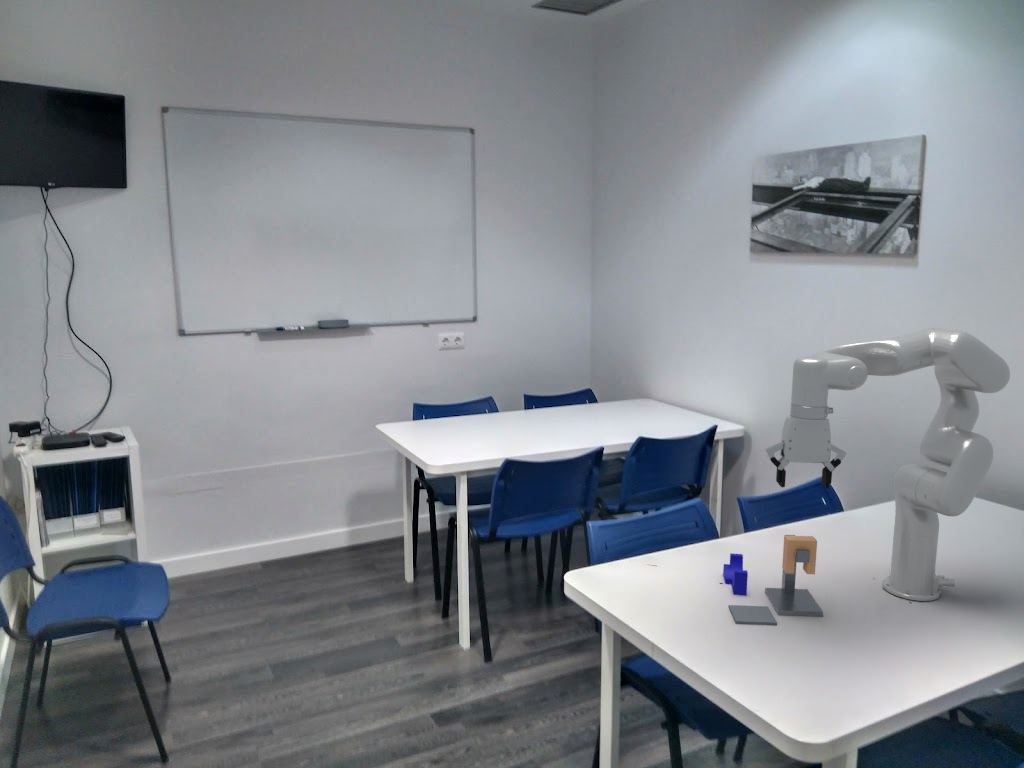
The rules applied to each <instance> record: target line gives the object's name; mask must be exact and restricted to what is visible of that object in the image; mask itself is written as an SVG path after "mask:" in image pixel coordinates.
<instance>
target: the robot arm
mask: <svg viewBox="0 0 1024 768" xmlns="http://www.w3.org/2000/svg"><path fill="white" fill-rule="evenodd" d="M932 366H933V367H934V368H933V369H934V375H935V379H936V381H937V383H938V387H939V392H940V401H939V405H938V408H937V410H936V412H935V414H934V416H933V418H932V420H931V422H930V423H929V425H928V428H927V429H926V431H925V432H924V434H923V437H922V439H921V441H920V443H919V453H920V455H921V456H922V458H923V459H925V460H926V461H928V462H930V463H933V464H935V465H938V466H942V467H945V468H947V469H948V471H947V472H945V471H943V470H940V469H937V468H934V467H931V466H928V465H924V464H921V463H920V464H919V463H908V464H904V465H902V466H901V467H900V468H898V470H897V471H896V473H895V474H894V478H893V484H892V485H893V495H894V503H895V505H894V506H895V509H894V510H895V512H894V513H895V514H894V515H895V516H894V526H893V527H894V528H893V536H892V537H893V538H892V551H891V562H890V573H889V574H890V576H887V577H885V578H883V580H882V584H881V585H882V588H883V589H884V590H885V591H886V592H888V593H890V594H891V595H894V596H897V597H899V598H902V599H907V600H910V601H911V600H912V601H919V602H929V601H935V600H937V599H939V598H940V596H941V589H940V588H943V587H948V588H949V587H950V588H951V587H952V588H954V587H956V580H955V579H954V578H945V576H944V575H942V574H941V575H939V574H938V575H936V574H935V573H936V567H937V566H936V565H937V555H938V554H937V553H938V543H939V534H940V533H939V532H940V519H939V514H940V515H943V516H946V517H958V516H960V515H962V514H964V513H965V512H966V510H967V509H968V508H969V507H970V506H971V504H972V502H973V500H974V499H975V497H976V495H977V493H978V491H979V489H980V487H981V486H982V484H983V482H984V480H985V478H986V476H987V475H988V472H989V471H990V468H991V466H992V463H993V460H994V447H993V445H992V442H991V441H990V439H988V438H987V437H985V436H984V435H982V434H979V433H976V432H973V429H974V428H975V425H976V423H977V420H978V418H979V416H980V404H979V401H978V397H977V395H976V393H975V392H978V393H984V394H994V393H998V392H1000V391H1002V390H1003V389H1005V388H1006V387H1007V385H1008V383H1009V381H1010V378H1011V370H1010V367H1009V365H1008V363H1007V361H1006V360H1005V359H1004V358H1003V357H1002V356H1001V355H999V354H998V353H997V352H995V351H994V350H993V349H992V348H990V347H989V346H988V345H986V344H985V343H984V342H982V341H981V340H980V339H978V338H977V337H976V336H974V335H973V334H971V333H969V332H967V331H966V332H965V331H963V330H954V329H945V328H944V329H943V328H934V327H933V328H925V329H922V330H918V331H913V332H910V333H906V334H902V335H899V336H895V337H891V338H887V339H882V340H873V341H872V340H871V341H867V342H859V343H852V344H851V343H850V344H844V345H839V346H838V345H837V346H835V347H831V348H827V349H823V350H820V351H818V352H816V353H814V354H812V355H811V356H809V355H808V356H799V357H797V358H796V359H795V360H794V362H793V367H792V368H793V370H792V380H791V381H792V383H791V397H790V399H791V401H790V412H789V415H786V417H785V420H784V422H783V428H782V433H781V440H780V442H778V443H776V444H773V445H772V446H769V447H767V448H766V449H765V453H766V455H767V456H768V459H769V461H770V462H771V463H772V464H773V465H774V466H775V467H776V476H775V480H776V483H777V484H778V485H779V487H780V488H785V487H786V477H787V470H786V469H785V468H786V467H787V466H788V465H789V464H790V463H801V464H802V463H803V464H823V466H824V467H823V468H822V471H821V483H820V484H821V486H822V487H823V488H824V489H827V490H828V489H829V488H830V485H831V484H832V479H833V477H832V476H833V472H834V471H835V469H836V468H837V467H838V466H839V465H841V463H842V461H843V460H844V458H845V456H846V455H847V453H846V451H845V450H843V449H842V448H839V447H838V446H836V445H834V444H832V435H831V425H830V419H829V418H828V415H830V414H834V407H830V406H828V399H829V391H830V390H838V391H840V390H841V391H854V390H857V389H859V388H861V387H862V386H863V385H864V384H865V383H866V382H867V379H868V376H877V377H889V376H890V377H894V376H899V375H903V374H906V373H910V372H913V371H917V370H921V369H925V368H928V367H932ZM776 452H779V455H780V456H781V457H780V458H776V456H775V453H776ZM831 452H834V453H835V454H836V455H835V457H834V458H832V460H831V457H832V455H831Z"/></svg>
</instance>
